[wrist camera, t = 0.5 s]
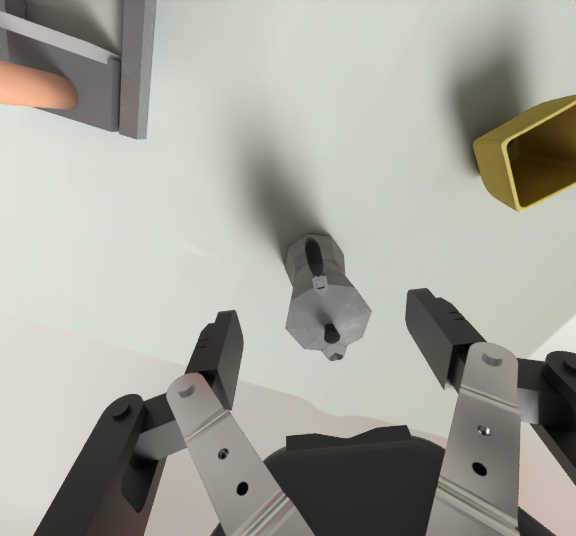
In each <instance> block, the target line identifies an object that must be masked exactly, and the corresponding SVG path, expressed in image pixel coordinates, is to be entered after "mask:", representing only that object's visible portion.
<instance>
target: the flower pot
mask: <svg viewBox="0 0 576 536" xmlns="http://www.w3.org/2000/svg"><path fill="white" fill-rule="evenodd" d="M510 140H511V141H512V143H511V144H510V145H508V142H509V141H510ZM473 149H474V153H475V156H476V160H477V163H478V167H479V171H480V175H481V178H482V181H483V183H484V185H485V187H486V189H487V190H488V192H489V193H490V194H491V195H492V196H493V197H495V198H496V199H498V200H499V201H501V202H502V203H504V204H506V205H507V206H509V207H511V208H512V209H514V210H516V211H517V212H521V211H524V210H527V209H528V208H531V207H533V206H535V205H537V204H539V203H541V202H543V201H545V200H547V199H549V198H551V197H553V196H555V195H557V194H559V193H561V192H563V191H565V190H567V189H569V188H571V187H573V186H575V185H576V95H571V96H567V97H563V98H559V99H555V100H551V101H547V102H544V103H541V104H539V105H537V106H534V107H532V108H530V109H528V110H526V111H525V112H523V113H521V114H519V115H518V116H516V117H514V118H513V119H511V120H509V121H507V122H506V123H504V124H502V125H500V126H499V127H497V128H495V129H493V130H492V131H490V132H488V133H486V134H485V135H483V136H481V137H479V138H477V139H476V140H475V141H474V142H473Z"/></svg>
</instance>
